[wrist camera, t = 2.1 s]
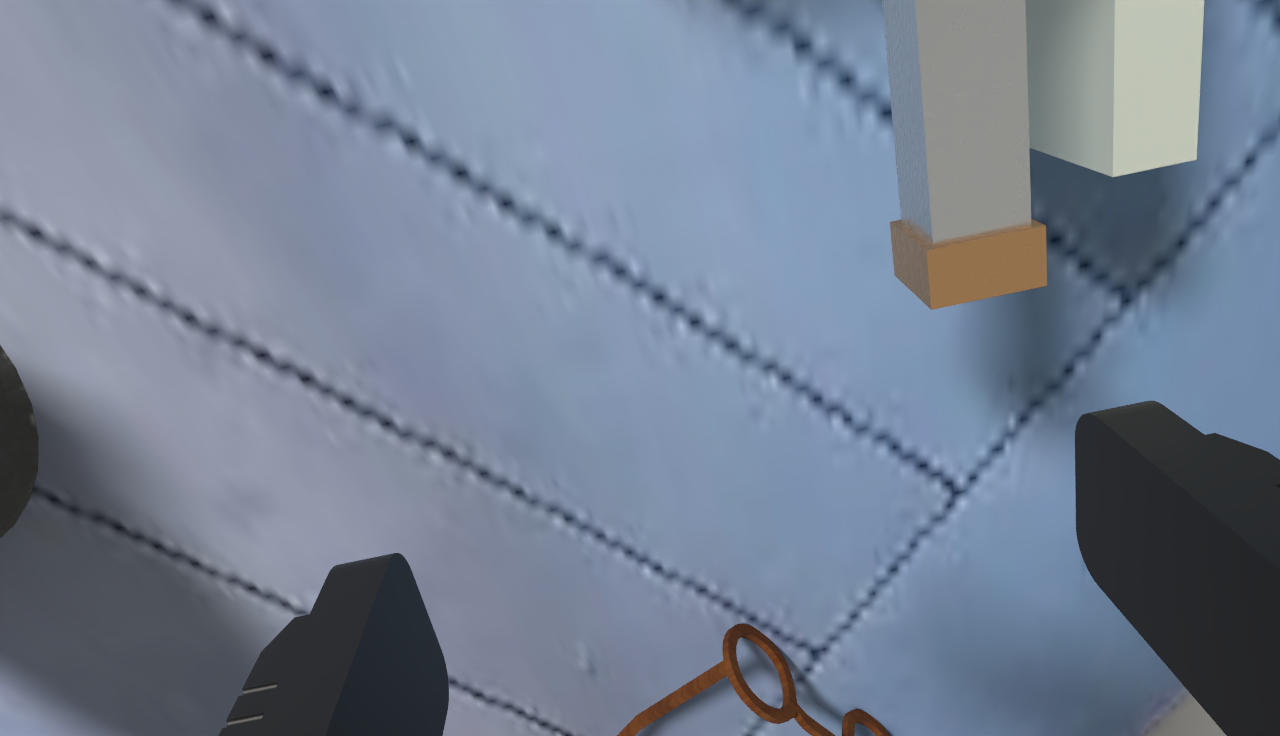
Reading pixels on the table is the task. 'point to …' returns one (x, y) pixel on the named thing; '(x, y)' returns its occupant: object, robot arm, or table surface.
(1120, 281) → the table surface
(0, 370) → the tankard
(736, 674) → the glasses
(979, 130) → the bar
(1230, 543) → the robot arm
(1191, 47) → the door edge
